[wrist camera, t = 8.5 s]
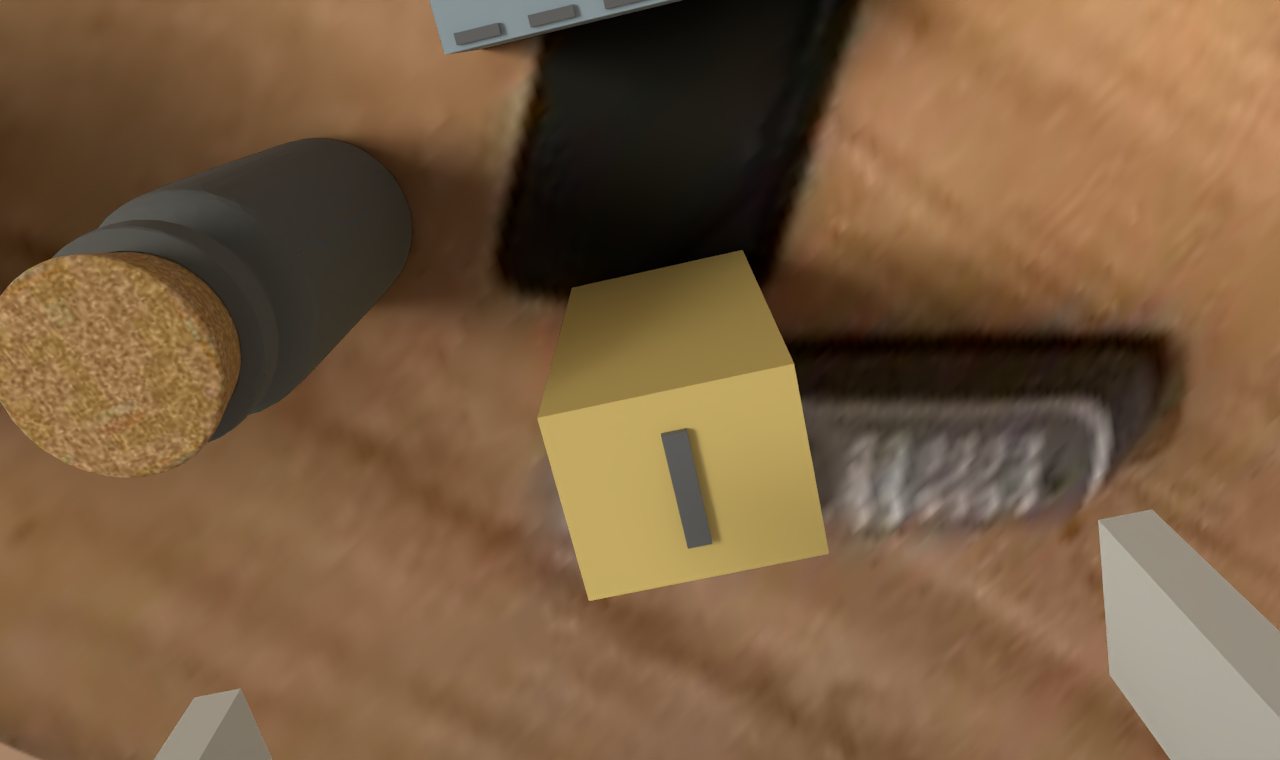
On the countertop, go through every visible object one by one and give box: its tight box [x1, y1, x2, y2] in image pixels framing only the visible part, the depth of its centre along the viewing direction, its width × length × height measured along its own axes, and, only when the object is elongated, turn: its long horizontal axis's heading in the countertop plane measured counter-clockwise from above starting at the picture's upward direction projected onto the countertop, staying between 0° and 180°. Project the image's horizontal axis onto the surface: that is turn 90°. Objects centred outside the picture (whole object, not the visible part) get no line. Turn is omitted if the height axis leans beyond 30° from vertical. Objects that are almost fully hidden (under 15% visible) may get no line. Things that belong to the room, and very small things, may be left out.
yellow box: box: [537, 250, 829, 601], centre depth 29 cm, size 5×6×12 cm
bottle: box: [0, 138, 412, 478], centre depth 26 cm, size 6×6×15 cm
